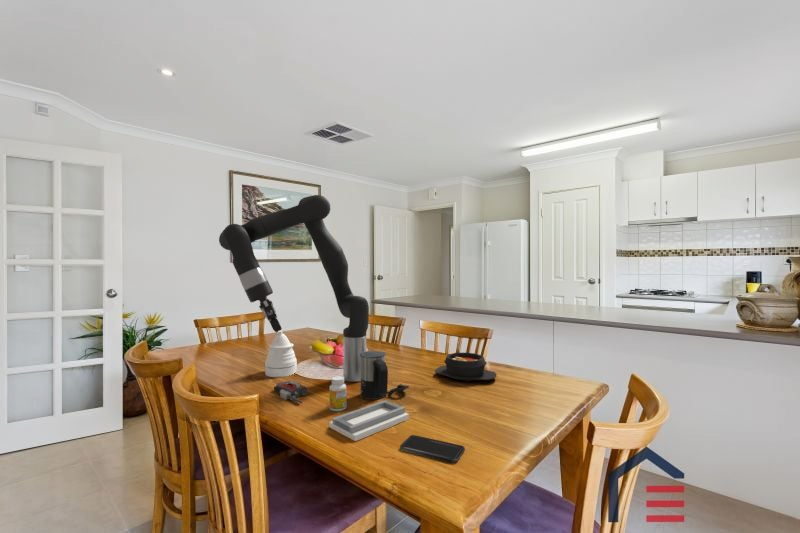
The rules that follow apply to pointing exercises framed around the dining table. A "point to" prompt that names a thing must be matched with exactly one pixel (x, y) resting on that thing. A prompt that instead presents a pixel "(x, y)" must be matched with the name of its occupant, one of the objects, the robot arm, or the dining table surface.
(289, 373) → the honey pot
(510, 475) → the dining table surface
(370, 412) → the board
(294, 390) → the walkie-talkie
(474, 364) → the casserole
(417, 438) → the phone
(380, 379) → the milk frother
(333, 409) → the supplement bottle
